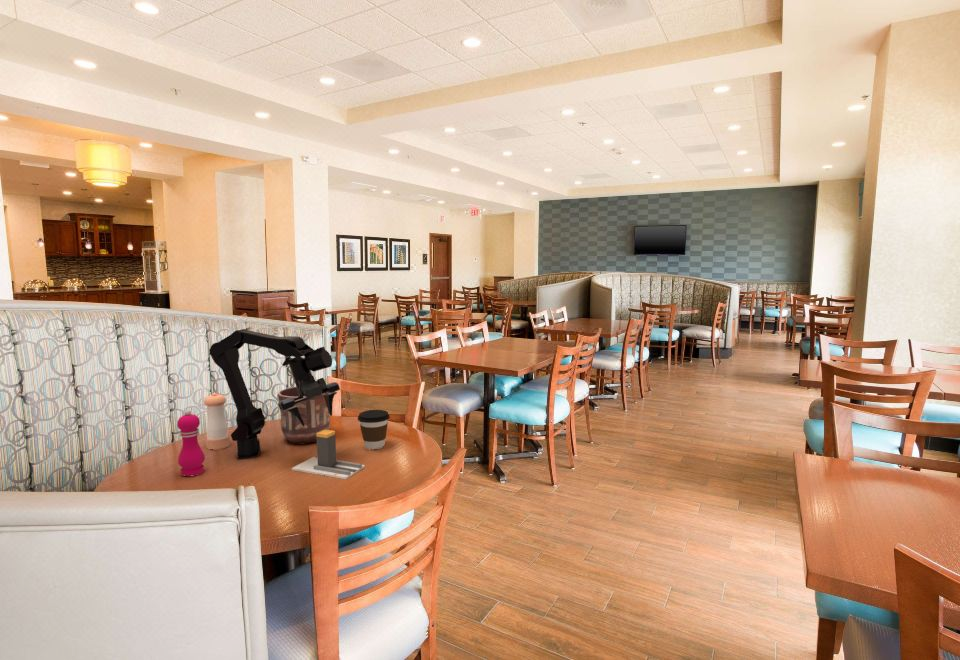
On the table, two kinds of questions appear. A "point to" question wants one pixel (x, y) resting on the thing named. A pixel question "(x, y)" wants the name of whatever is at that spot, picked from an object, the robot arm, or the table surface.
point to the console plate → (337, 471)
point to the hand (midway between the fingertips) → (317, 421)
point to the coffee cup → (374, 428)
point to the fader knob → (326, 448)
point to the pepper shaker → (216, 422)
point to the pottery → (304, 417)
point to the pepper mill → (190, 445)
